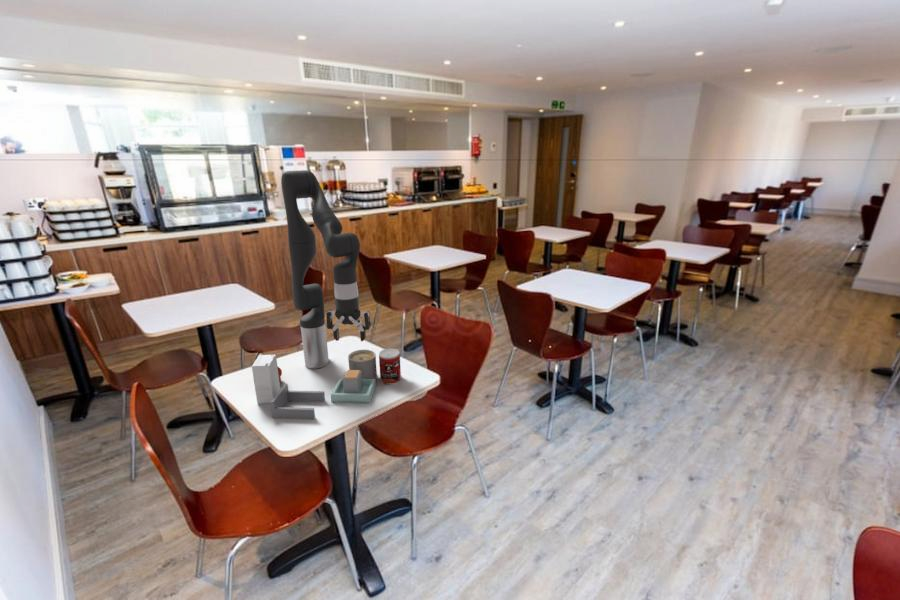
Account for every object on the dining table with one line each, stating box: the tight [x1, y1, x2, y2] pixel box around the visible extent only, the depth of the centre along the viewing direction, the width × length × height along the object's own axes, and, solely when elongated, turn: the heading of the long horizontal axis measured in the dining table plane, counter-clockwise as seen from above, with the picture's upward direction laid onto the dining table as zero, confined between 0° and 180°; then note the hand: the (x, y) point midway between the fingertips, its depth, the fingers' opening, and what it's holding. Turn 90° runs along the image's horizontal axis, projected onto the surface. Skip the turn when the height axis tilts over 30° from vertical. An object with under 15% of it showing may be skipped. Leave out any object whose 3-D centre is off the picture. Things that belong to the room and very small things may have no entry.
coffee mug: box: [347, 349, 378, 381], centre depth 158 cm, size 13×10×10 cm
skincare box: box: [251, 354, 281, 405], centre depth 144 cm, size 8×6×15 cm
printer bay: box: [269, 383, 326, 420], centre depth 139 cm, size 11×14×6 cm
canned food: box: [378, 348, 402, 385], centre depth 157 cm, size 8×8×11 cm
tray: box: [330, 377, 377, 404], centre depth 148 cm, size 11×13×3 cm
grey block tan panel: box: [342, 369, 363, 394], centre depth 147 cm, size 6×5×8 cm
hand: (350, 340), depth 142 cm, fingers open, 8 cm apart
